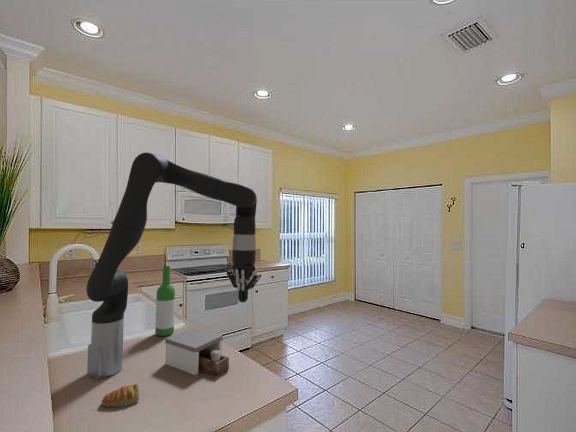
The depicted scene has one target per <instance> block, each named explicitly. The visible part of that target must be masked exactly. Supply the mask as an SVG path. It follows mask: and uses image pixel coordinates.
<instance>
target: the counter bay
mask: <svg viewBox="0 0 576 432" xmlns="http://www.w3.org/2000/svg"><path fill="white" fill-rule="evenodd" d="M223 340H224V336H223V335H221V334H219V333H215V332H211V331H207V330H204V329H200V328H197V327H191V328H190V329H187V330H184V331H181V332H179V333H176V334H174V335H170V336H167V337H165V340H164V341H165V342H164V343H165V361H164V362H165V363H164V364H165V365H167V366H171V367H173V368H176V369H178V370H180V371H184V372H186V373H188V374H191V375H194V376H197V375H199V369H198V367H199V351H200V350H202V349H205V350H208V351H211V352H212V351H214V350H219V351H221V355H223V353H222V352H223Z"/></svg>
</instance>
